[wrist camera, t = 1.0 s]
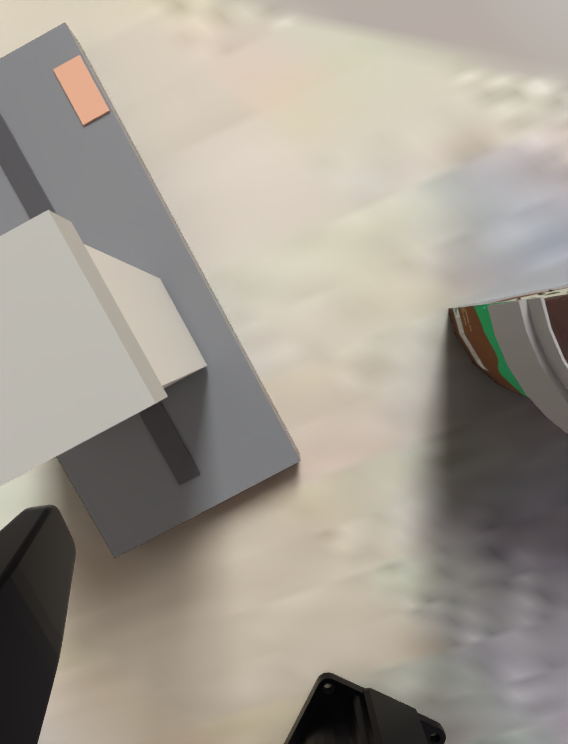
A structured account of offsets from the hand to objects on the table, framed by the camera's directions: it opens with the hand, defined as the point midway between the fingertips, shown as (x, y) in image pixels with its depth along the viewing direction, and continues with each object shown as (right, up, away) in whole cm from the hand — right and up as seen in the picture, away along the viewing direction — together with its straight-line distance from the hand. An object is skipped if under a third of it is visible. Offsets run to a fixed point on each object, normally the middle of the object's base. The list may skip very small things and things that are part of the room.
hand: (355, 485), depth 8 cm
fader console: (-9, +5, +15) cm, 18 cm away
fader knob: (-8, +2, +13) cm, 16 cm away
